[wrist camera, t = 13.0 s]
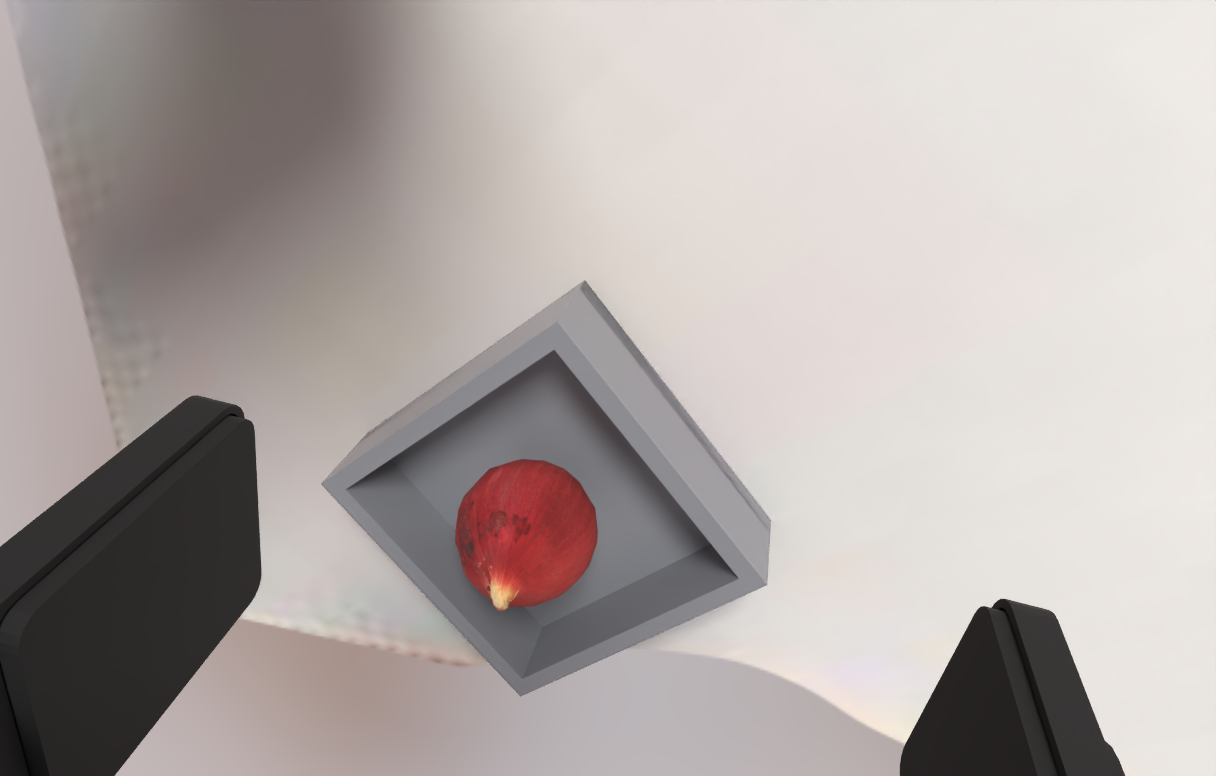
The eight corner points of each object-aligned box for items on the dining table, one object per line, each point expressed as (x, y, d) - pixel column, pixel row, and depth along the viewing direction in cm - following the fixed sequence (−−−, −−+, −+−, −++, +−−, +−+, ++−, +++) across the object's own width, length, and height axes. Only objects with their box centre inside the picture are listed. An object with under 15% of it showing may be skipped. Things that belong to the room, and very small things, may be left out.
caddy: (367, 432, 41) (321, 483, 37) (584, 280, 35) (556, 321, 31) (545, 630, 44) (520, 696, 40) (771, 520, 38) (767, 584, 34)
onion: (465, 483, 39) (392, 595, 32) (534, 402, 37) (470, 506, 30) (564, 557, 40) (513, 682, 33) (639, 482, 38) (601, 602, 30)
